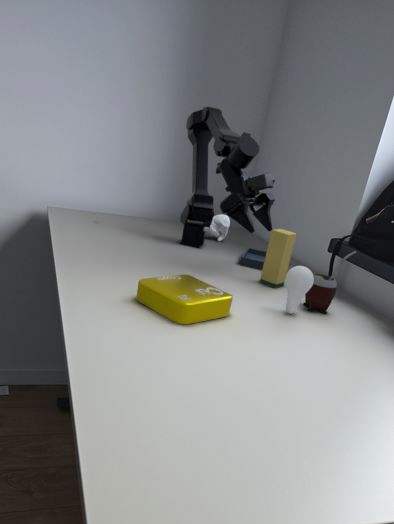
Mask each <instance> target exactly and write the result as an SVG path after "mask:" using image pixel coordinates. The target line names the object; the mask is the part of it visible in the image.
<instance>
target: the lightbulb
mask: <svg viewBox="0 0 394 524" xmlns="http://www.w3.org/2000/svg"><path fill="white" fill-rule="evenodd" d="M313 274H314V273H313V272H312V271H311V269H310V268H308V267H307V266H304V265H295V266H293V267H291V268H290V269H288V270H287V274H286V277H285V282H284V284H285V288H286V293H287V294H286V305H285V311H286V312H287V313H288V314H290V315H293V314H296V313H297V312H298V308H299V306H300V305H301V303H302V300H303V298H304V297H305V294H306V293H307V292H308V291H309V290H310V288H311V287H312V285H313V282H314V277H313Z"/></svg>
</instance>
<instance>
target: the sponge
mask: <svg viewBox="0 0 394 524" xmlns="http://www.w3.org/2000/svg"><path fill="white" fill-rule="evenodd" d="M270 232H271V233H270V236H269V241H268V245H267V249H266V252H267V253H266V257H265V261H264V265H263V270H261V275H260V279H259V283H260V284H263V285H265V286H268V287H270V288H274V289H276V288H279V287H280V288H281V287H283V286H284V285H285V277H286V274H287V273H288V271H289V266H290V262H291V258H292V254H293V251H294V247H295V243H296V240H297V239H296V238H297V235H298V233H296V232H294V231H291V230H287V229H283V228H275V229H272V230H271V231H270Z"/></svg>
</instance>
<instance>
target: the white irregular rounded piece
mask: <svg viewBox="0 0 394 524" xmlns="http://www.w3.org/2000/svg"><path fill="white" fill-rule="evenodd" d="M230 219H231V218H230V217H229V216H227V215H226V214H223V213H222V214H216V215H214V217H213V220H212V223H211V225H210V228H209V227H205V231H206V234H208V235H212V236H214V237H216V238H217V240H216V241H217V242H222V241H223V240H224V239H225V238H226V237H227V234H228V231H229V229H230V226H231V220H230Z"/></svg>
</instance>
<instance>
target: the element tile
mask: <svg viewBox="0 0 394 524" xmlns="http://www.w3.org/2000/svg"><path fill="white" fill-rule="evenodd" d="M135 297H136V301H137V302H138V303H140V304H141V305H143V306H145V307H147V308H149V309H151V310H153V312H156V313H157V314H160V315H161V316H163V317H164V318H167V319H169V321H172V322H173V323H176V324H179V325H191V324H196V323H197V324H198V323H201V322H205V321H206V322H207V321H210V320H211V321H212V320H216V319H221V318H226V317H228V316H229V315H230V312H231V308H232V303H233V302H232V301H233V295H232V294H231V293H229V292H227V291H224V290H222V289H220V288H218V287H216V286H214V285H211V284H210V283H207V282H205V281H203V280H201V279H198V278H196V277H194V276H192V275H190V274H177V275H167V276H158V277H149V278H147V277H146V278H140V279H139V280H138V283H137V290H136V296H135Z"/></svg>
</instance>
